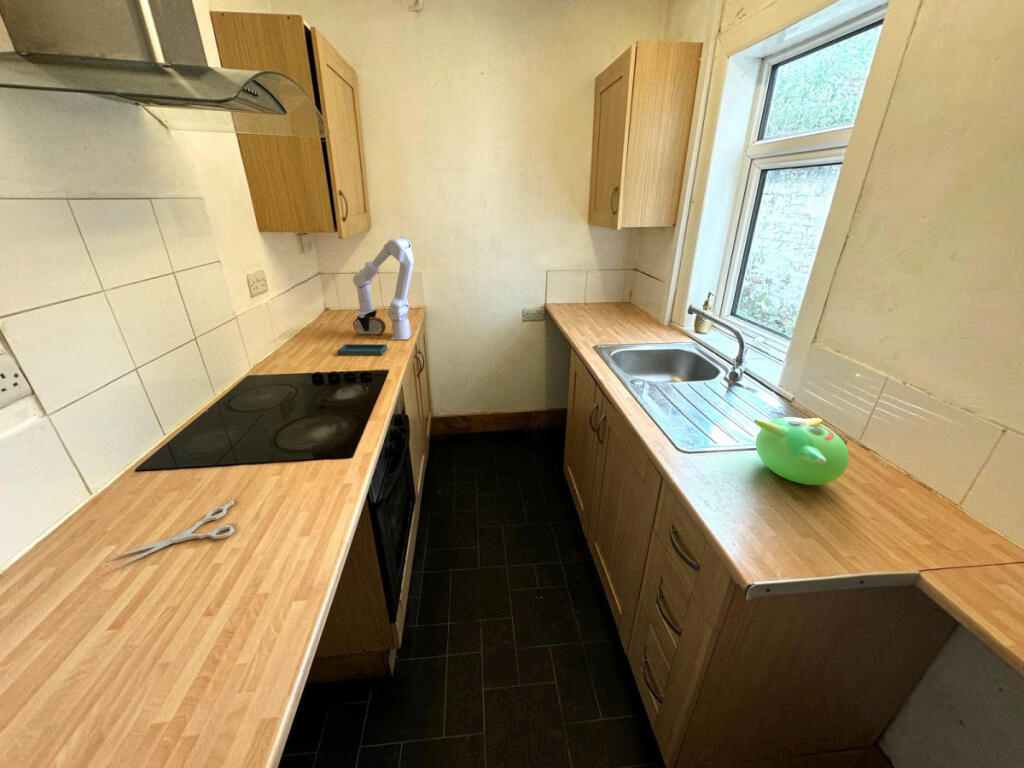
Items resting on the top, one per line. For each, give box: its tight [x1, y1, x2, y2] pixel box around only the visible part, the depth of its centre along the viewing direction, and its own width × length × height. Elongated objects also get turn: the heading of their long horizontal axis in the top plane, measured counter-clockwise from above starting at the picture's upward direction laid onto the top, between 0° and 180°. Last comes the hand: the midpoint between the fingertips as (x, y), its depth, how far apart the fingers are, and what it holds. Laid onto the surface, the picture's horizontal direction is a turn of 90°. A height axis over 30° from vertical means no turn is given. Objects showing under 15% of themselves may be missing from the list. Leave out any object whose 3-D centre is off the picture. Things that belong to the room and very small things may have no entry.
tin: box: [352, 316, 387, 336], centre depth 196 cm, size 15×3×8 cm, turn 84°
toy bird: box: [753, 416, 850, 486], centre depth 95 cm, size 18×17×15 cm
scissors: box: [112, 499, 235, 570], centre depth 80 cm, size 11×1×20 cm
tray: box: [337, 343, 388, 357], centre depth 175 cm, size 8×18×2 cm, turn 89°
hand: (369, 328), depth 196 cm, fingers open, 7 cm apart
